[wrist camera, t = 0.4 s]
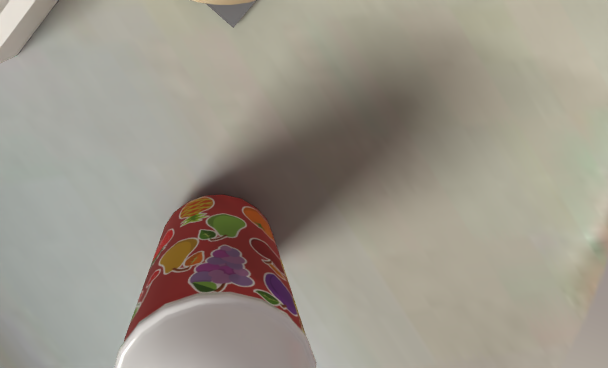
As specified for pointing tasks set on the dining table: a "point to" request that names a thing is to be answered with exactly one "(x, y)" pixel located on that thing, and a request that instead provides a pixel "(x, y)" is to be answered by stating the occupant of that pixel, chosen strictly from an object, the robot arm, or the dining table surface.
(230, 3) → the wooden peg stand
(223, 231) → the smoothie
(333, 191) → the dining table surface
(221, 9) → the mat
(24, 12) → the bowl
